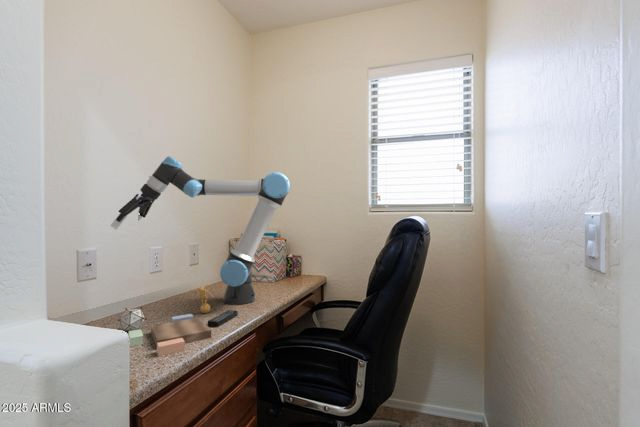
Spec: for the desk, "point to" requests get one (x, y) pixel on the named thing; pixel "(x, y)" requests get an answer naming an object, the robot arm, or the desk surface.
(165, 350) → the terracotta brick
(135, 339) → the sage brick
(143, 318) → the game die
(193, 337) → the walnut board
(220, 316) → the multiport hub
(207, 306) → the figurine
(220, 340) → the desk surface
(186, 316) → the slate brick
